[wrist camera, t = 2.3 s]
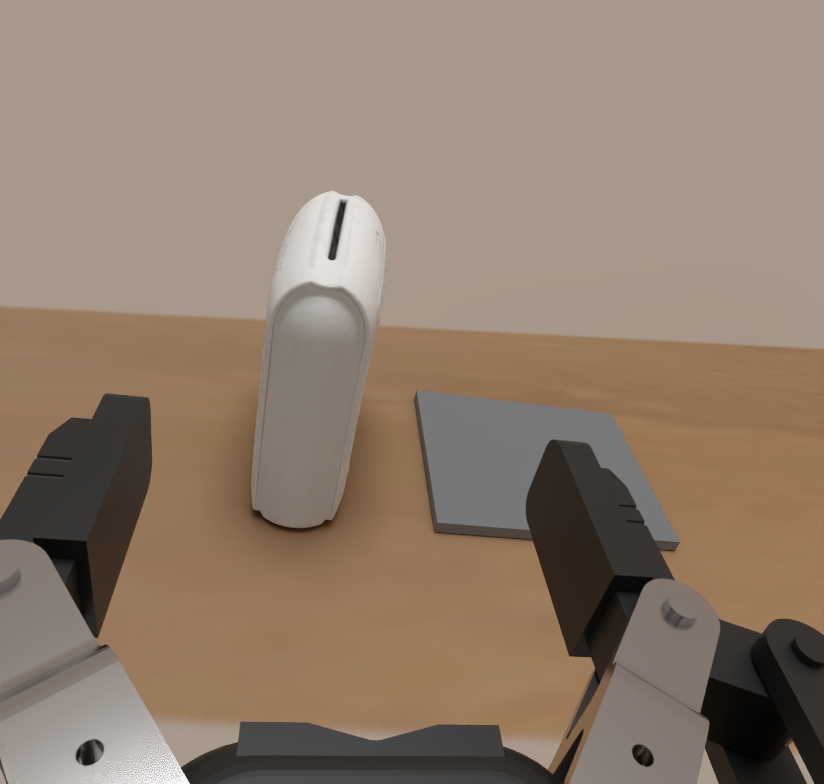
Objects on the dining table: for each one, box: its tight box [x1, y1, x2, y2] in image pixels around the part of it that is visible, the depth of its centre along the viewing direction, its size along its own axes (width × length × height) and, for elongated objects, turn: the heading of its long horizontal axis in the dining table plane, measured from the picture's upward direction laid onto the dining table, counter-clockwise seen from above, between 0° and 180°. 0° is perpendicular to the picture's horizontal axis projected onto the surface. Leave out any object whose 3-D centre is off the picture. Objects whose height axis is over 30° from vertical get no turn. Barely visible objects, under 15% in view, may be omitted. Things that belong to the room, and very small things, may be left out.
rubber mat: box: [414, 390, 680, 551], centre depth 35 cm, size 12×10×1 cm
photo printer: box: [251, 191, 386, 528], centre depth 29 cm, size 10×4×12 cm, turn 1°
